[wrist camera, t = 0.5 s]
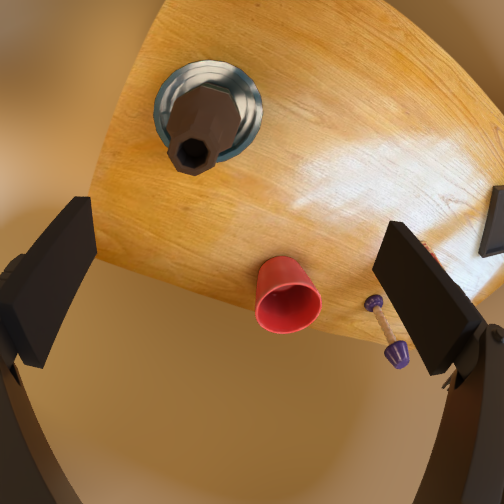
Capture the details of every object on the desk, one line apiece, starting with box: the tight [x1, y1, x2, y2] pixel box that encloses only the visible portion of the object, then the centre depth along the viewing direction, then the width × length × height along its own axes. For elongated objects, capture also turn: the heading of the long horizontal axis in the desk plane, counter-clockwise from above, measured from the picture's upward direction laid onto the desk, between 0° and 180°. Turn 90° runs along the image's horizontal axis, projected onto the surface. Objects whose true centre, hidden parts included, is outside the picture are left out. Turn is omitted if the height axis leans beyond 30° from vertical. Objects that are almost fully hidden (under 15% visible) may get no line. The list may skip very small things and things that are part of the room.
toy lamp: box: [364, 295, 409, 369], centre depth 57 cm, size 5×5×17 cm
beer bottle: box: [166, 82, 241, 176], centre depth 31 cm, size 8×8×24 cm
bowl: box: [153, 60, 263, 163], centre depth 39 cm, size 14×14×5 cm
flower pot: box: [255, 256, 322, 334], centre depth 53 cm, size 11×11×10 cm
